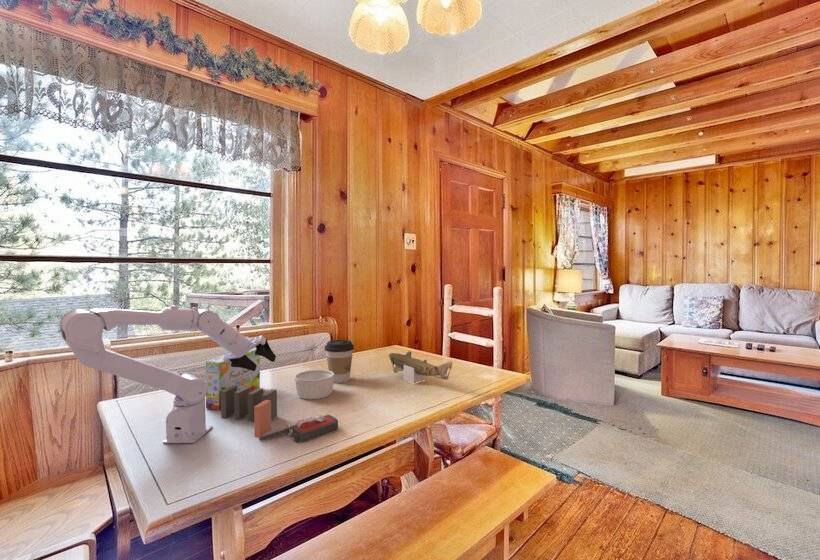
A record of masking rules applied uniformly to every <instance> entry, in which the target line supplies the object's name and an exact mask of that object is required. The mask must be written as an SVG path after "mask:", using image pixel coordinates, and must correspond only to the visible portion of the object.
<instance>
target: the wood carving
mask: <svg viewBox="0 0 820 560" xmlns="http://www.w3.org/2000/svg"><path fill="white" fill-rule="evenodd" d="M388 357H389V359H390V360H389V361H390V364H391V366H392V370H393V373H394V374H395V373H399V372H402V371H403V381H404V380H406V381H405V382H407V381H409V382H412V383H416V382H419V381H423V380H426V381H427V379H426V377H434V378H437V379H441V380H445V381H447V380H448V379H449V377H450V373H451V370H452V367H453V362H452V361H448V362H445V363H442V364H440V365H434V364H431V363H428V361H427V360H426V359H424V360H420V359H418V358H414V357H412V351H407V352H406V354H401V353H394V352H391V353H389V354H388ZM409 382H408V383H409ZM412 383H411V384H412Z"/></svg>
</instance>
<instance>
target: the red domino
mask: <svg viewBox="0 0 820 560" xmlns="http://www.w3.org/2000/svg"><path fill="white" fill-rule="evenodd" d="M253 425H254V437H255V438H259V437H261V436H264V435H266V434H268V432H269V431H271V430H272V420H271V400H265V401H263V402H261V403H259V404H258V405H256V406H254V421H253Z"/></svg>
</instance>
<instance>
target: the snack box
mask: <svg viewBox="0 0 820 560" xmlns="http://www.w3.org/2000/svg"><path fill="white" fill-rule="evenodd" d="M256 349H257V348H256V347H255V348H253V349H251V350H250V351H249V352H247V353H246V354H245V355H246V356H247V357H248V358H249V359H250V360H252V361H253V362H254V363H255V364H256V365H257V367H256V370H255V371H251V370H248V369H245V368H240V367H232V366H231V363H232V362H231V361H230V362H228V363H227V362H226V361H224V360H223V358H224V355H221V356H218V357H216V358H213V359H210V360H207V361H205V382H206V383H207V385H208V393H207V395H206V397H205V409H210V410H215V411H216V410H217V411H220V410H221V391H222V390H224V389H226V388H229V387H231V386H237V391H238V390H240V389H242V388H244V387H250V392H252V391H254V390H256V389H258V388H261V378H260V377H261V374H260V373H261V362H260V361H261V356H260V355H256V354H255V351H256Z"/></svg>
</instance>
